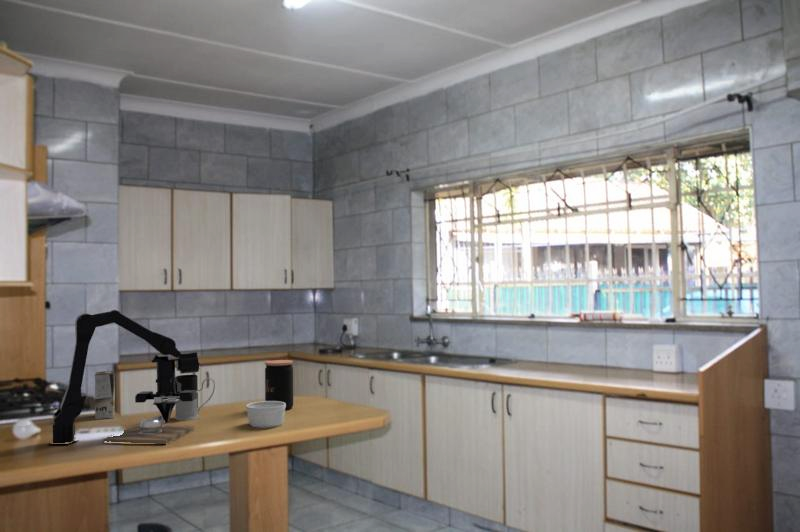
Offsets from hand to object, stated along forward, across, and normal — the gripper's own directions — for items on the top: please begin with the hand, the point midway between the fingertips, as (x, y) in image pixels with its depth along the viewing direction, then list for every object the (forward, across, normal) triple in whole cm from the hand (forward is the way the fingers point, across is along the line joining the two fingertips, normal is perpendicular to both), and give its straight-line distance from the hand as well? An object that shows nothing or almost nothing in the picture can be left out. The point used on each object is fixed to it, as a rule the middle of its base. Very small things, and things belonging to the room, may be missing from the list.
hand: (167, 422), depth 225 cm
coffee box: (+3, +32, -26) cm, 42 cm away
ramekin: (+4, -30, -10) cm, 32 cm away
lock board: (+3, +3, +7) cm, 8 cm away
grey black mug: (+3, -2, -23) cm, 24 cm away
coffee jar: (+4, -30, -38) cm, 49 cm away
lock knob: (+1, +3, +4) cm, 5 cm away
